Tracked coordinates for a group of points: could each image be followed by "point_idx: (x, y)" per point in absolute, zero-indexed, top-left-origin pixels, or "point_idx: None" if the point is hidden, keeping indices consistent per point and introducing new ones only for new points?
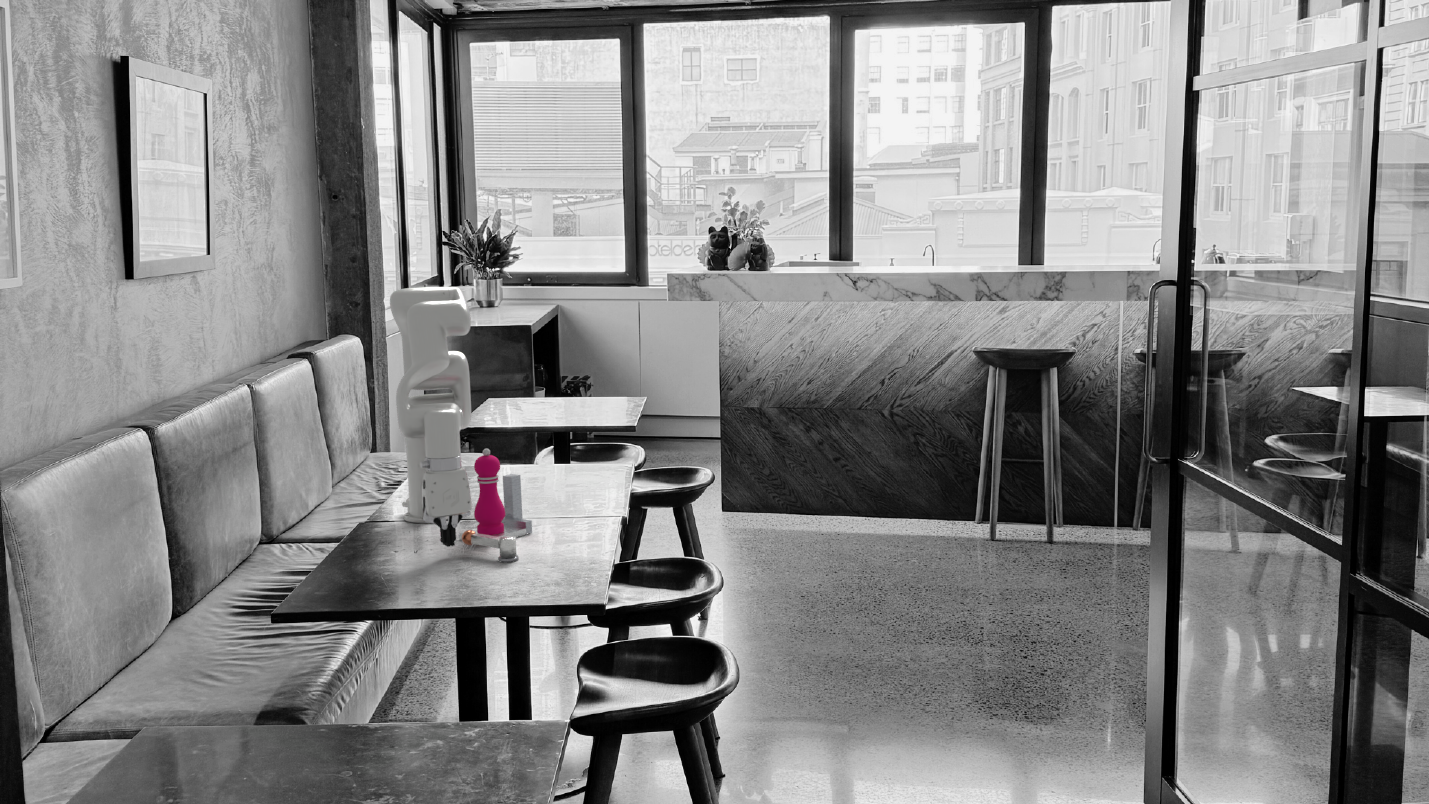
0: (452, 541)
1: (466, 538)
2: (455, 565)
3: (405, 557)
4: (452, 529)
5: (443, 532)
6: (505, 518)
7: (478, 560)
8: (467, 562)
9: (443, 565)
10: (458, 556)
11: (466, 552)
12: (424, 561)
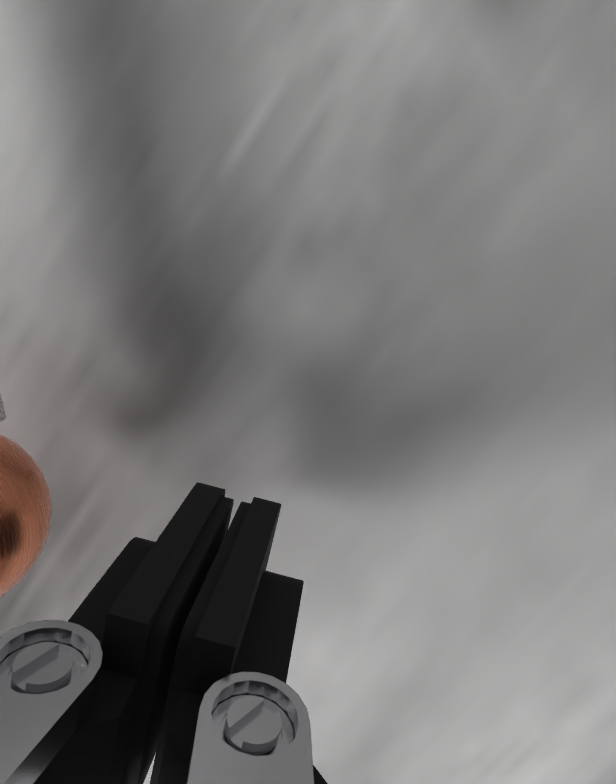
0: (211, 509)
1: (9, 480)
2: (415, 178)
3: (498, 772)
4: (140, 608)
5: (279, 668)
6: None
7: (143, 141)
8: (263, 172)
9: (488, 287)
10: (192, 438)
11: (69, 487)
12: (494, 556)
